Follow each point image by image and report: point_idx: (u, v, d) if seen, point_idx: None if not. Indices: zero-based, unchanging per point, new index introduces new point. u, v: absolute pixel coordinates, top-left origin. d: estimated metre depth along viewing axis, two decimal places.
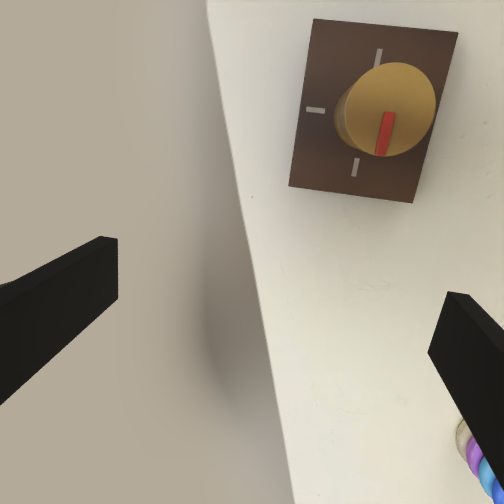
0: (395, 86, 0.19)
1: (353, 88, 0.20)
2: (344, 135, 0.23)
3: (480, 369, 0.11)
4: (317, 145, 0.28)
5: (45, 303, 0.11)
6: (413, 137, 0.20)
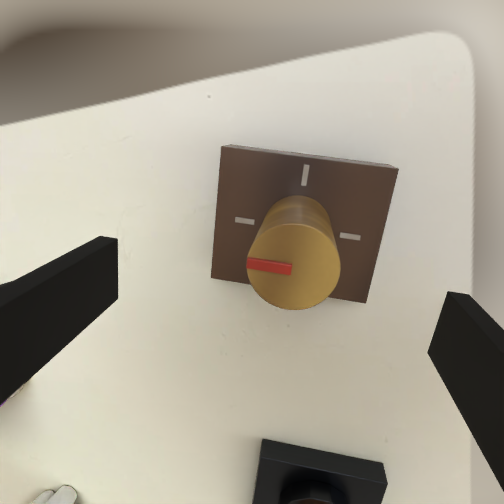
0: (316, 272, 0.18)
1: (317, 231, 0.18)
2: (272, 217, 0.21)
3: (480, 369, 0.11)
4: (267, 178, 0.25)
5: (45, 303, 0.11)
6: (265, 292, 0.19)
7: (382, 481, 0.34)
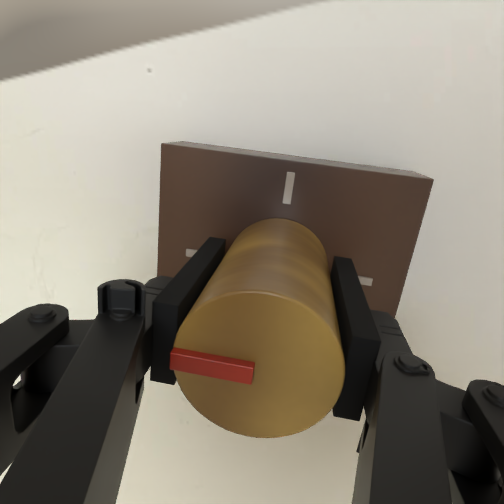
0: (300, 379, 0.10)
1: (301, 307, 0.09)
2: (227, 264, 0.12)
3: (336, 312, 0.13)
4: (231, 192, 0.17)
5: (197, 295, 0.12)
6: (209, 408, 0.11)
7: None
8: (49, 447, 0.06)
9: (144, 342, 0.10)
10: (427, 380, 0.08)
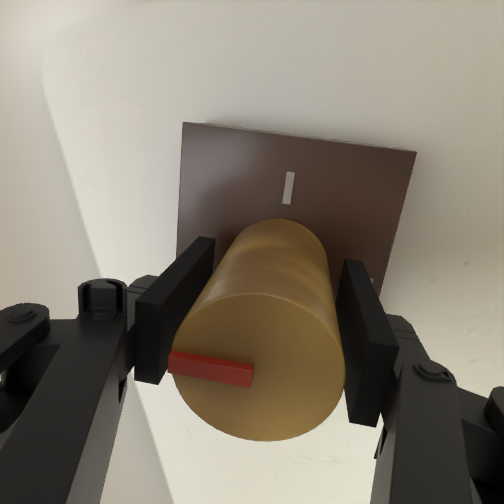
0: (300, 382, 0.10)
1: (300, 309, 0.09)
2: (225, 265, 0.12)
3: (349, 316, 0.13)
4: None
5: (183, 295, 0.12)
6: (208, 411, 0.10)
7: None
8: (30, 448, 0.06)
9: (126, 341, 0.10)
10: (448, 387, 0.08)
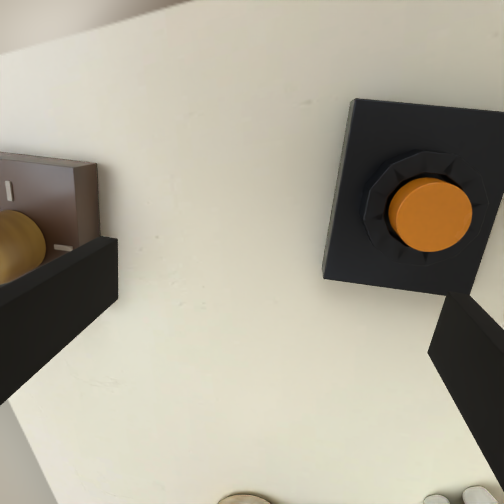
0: None
1: None
2: None
3: (480, 369, 0.11)
4: None
5: (45, 303, 0.11)
6: None
7: (354, 106, 0.22)
8: None
9: None
10: None
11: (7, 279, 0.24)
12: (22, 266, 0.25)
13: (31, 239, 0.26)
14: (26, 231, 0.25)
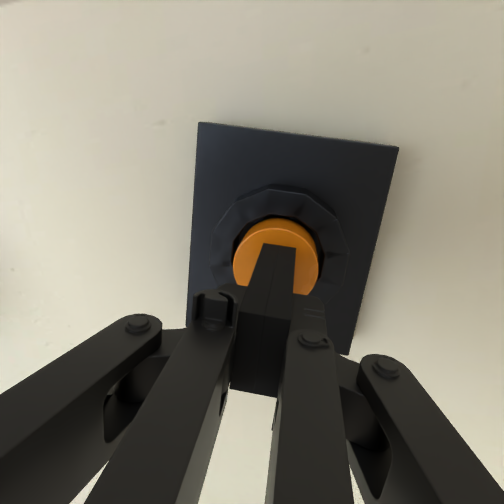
0: None
1: None
2: None
3: None
4: None
5: None
6: None
7: (198, 131, 0.19)
8: (140, 454, 0.06)
9: (231, 355, 0.10)
10: (327, 353, 0.09)
11: None
12: None
13: None
14: None
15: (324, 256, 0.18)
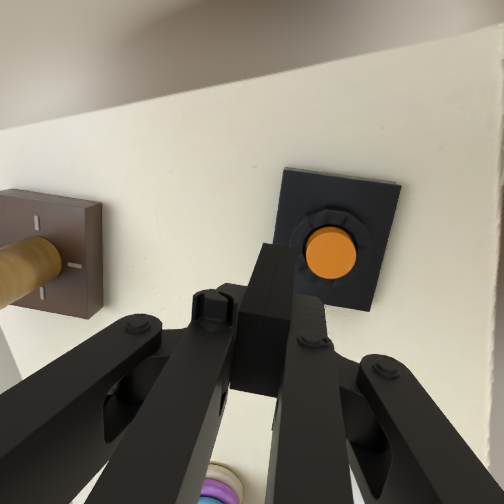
0: None
1: None
2: None
3: None
4: None
5: None
6: None
7: (283, 174, 0.32)
8: (140, 454, 0.06)
9: (231, 355, 0.10)
10: (327, 352, 0.09)
11: (34, 288, 0.33)
12: (45, 279, 0.34)
13: (51, 259, 0.35)
14: (48, 253, 0.35)
15: (357, 248, 0.31)
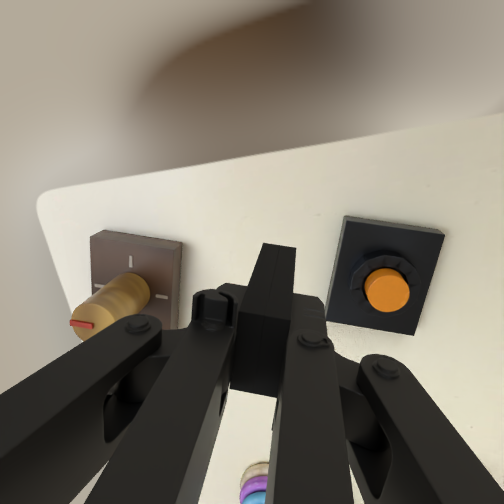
0: None
1: (102, 307, 0.35)
2: (93, 294, 0.37)
3: None
4: None
5: None
6: (83, 337, 0.36)
7: (345, 224, 0.38)
8: (140, 454, 0.06)
9: (231, 355, 0.10)
10: (327, 353, 0.09)
11: None
12: (140, 309, 0.41)
13: (144, 292, 0.41)
14: (142, 287, 0.41)
15: (408, 286, 0.37)
